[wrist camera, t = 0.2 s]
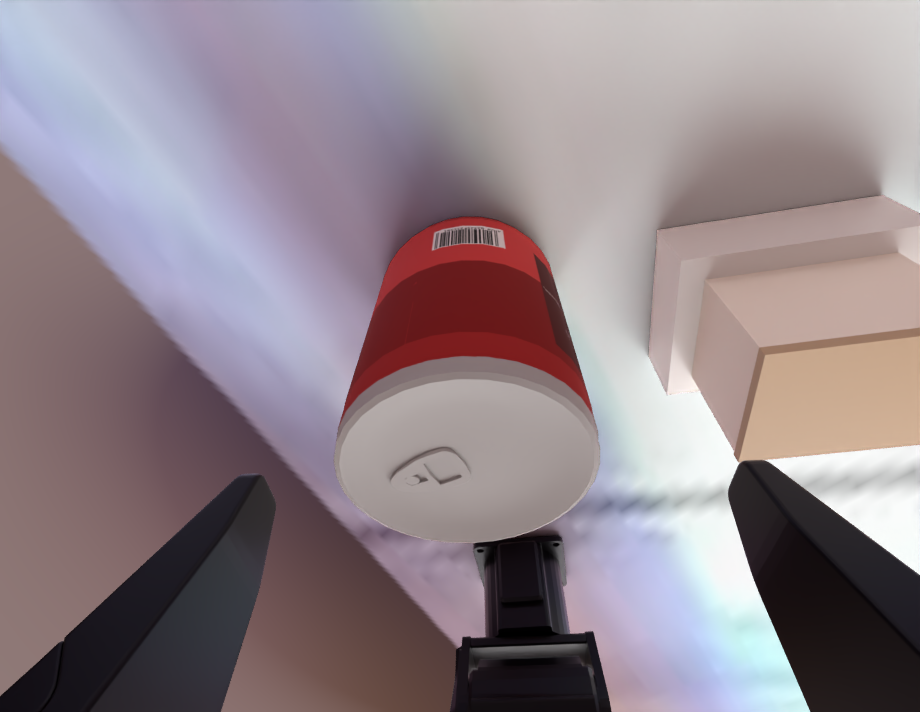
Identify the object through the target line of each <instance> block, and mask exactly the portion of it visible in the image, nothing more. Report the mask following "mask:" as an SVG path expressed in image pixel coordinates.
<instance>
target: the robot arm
mask: <svg viewBox="0 0 920 712" xmlns="http://www.w3.org/2000/svg"><path fill="white" fill-rule="evenodd" d="M728 497H729V502H730V505H731V509H732V512H733V515H734V518H735V522H736V525H737V528H738V531H739V534H740V538H741V541H742V544H743V547H744V551H745V554H746V557H747V560H748V564H749V567H750V570H751V573H752V576H753V579H754V581H755V584H756V586H757V589H758V591H759V594H760V596H761V598H762V601H763V603H764V605H765V608H766V610H767V612H768V615H769V617H770V619H771V622H772V624H773V626H774V628H775V631H776V633H777V635H778V638H779V640H780V642H781V645H782V647H783V649H784V652H785V654H786V656H787V659H788V661H789V663H790V666H791V668H792V670H793V672H794V675H795V677H796V679H797V682H798V684H799V686H800V689H801V691H802V693H803V696H804V698H805V700H806V703H807V705H808V707H809V710H810V712H920V575H919V574H918V573H916V572H915V571H914V570H912V569H911V568H910V567H908V566H907V565H906V564H904V563H903V562H902V561H900V560H899V559H898V558H896V557H895V556H894V555H892V554H891V553H890V552H888V551H887V550H886V549H884V548H883V547H882V546H880V545H879V544H878V543H876V542H875V541H874V540H872V539H871V538H870V537H868V536H867V535H866V534H864V533H863V532H862V531H860V530H859V529H858V528H856V527H855V526H854V525H852V524H851V523H850V522H848V521H847V520H846V519H844V518H843V517H842V516H840V515H839V514H838V513H836V512H835V511H833V510H832V509H831V508H829V507H828V506H827V505H825V504H824V503H823V502H821V501H820V500H819V499H817V498H816V497H815V496H813V495H812V494H811V493H809V492H808V491H807V490H805V489H804V488H803V487H801V486H800V485H799V484H797V483H796V482H795V481H793V480H792V479H791V478H789V477H788V476H787V475H785V474H784V473H783V472H781V471H780V470H779V469H777V468H776V467H775V466H773V465H772V464H771V463H769V462H767V461H764V460H745V461H742V462H741V463H739V465H738V467H737V470H736V472H735V474H734V477H733V479H732V481H731V484H730V486H729V490H728ZM275 510H276V503H275V499H274V497H273V494H272V492H271V490H270V488H269V486H268V484H267V482H266V479H265V477H264V476H262V475H261V474H243V475H240V476H238V477H237V478H236V479H234V480H233V481H232V482H231V483H230V484H229V485H228V486H227V487H226V488H225V489H224V490H223V491H222V492H220V494H218V495H217V496H216V497H215V498H214V499H213V500H212V501H211V502H210V503H209V504H208V505H207V506H205V507H204V509H202V510H201V511H200V512H199V513H198V514H197V515H196V516H195V517H194V518H193V519H192V520H190V521H189V522H188V523H187V524H186V525H185V526H184V527H183V528H182V529H181V530H180V531H179V532H177V533H176V534H175V535H174V536H173V537H172V538H171V539H170V540H169V541H168V542H167V543H166V544H165V545H163V547H161V548H160V549H159V550H158V551H157V552H156V553H155V554H154V555H153V556H152V557H151V558H149V560H147V561H146V562H145V563H144V564H143V565H142V566H141V567H140V568H139V569H138V570H137V571H136V572H134V573H133V574H132V575H131V576H130V577H129V578H128V579H127V580H126V581H125V582H124V583H123V584H122V585H120V586H119V587H118V588H117V589H116V590H115V591H114V592H113V593H112V594H111V595H110V596H109V597H108V598H107V599H105V600H104V601H103V602H102V603H101V604H100V605H99V606H98V607H97V608H96V609H95V610H94V611H93V612H92V613H91V614H89V615H88V616H87V617H86V618H85V619H84V620H83V621H82V622H81V623H80V624H79V625H77V627H75V628H74V629H73V630H72V631H71V632H70V633H69V634H68V635H67V636H66V637H65V638H64V641H61V642H59V643H58V644H57V645H56V646H55V647H54V648H53V649H51V650H50V651H49V652H48V653H47V654H46V655H45V656H44V657H43V658H42V659H41V660H40V661H39V662H38V663H36V664H35V665H34V666H33V667H32V668H31V669H30V670H29V671H28V672H26V674H24V675H23V676H22V677H21V678H20V679H19V680H18V681H16V682H15V683H14V684H13V685H12V686H11V687H10V688H9V689H8V690H7V691H5V692H4V693H3V694H2V695H1V696H0V712H221V709H222V706H223V703H224V700H225V696H226V693H227V690H228V687H229V684H230V681H231V678H232V674H233V671H234V668H235V665H236V662H237V659H238V655H239V652H240V649H241V646H242V643H243V639H244V636H245V633H246V630H247V627H248V624H249V620H250V618H251V614H252V611H253V608H254V605H255V602H256V598H257V595H258V591H259V588H260V584H261V579H262V575H263V570H264V565H265V560H266V555H267V550H268V545H269V540H270V535H271V530H272V525H273V521H274V516H275ZM473 552H474V555H475V559H476V562H477V565H478V569H479V572H480V576H481V579H482V583H483V586H484V591H485V635H486V637H483V638H471V637H463V638H462V646H461V647H460V648H458V649H456V672H455V682H454V689H453V695H452V701H451V708H450V712H611V706H610V701H609V696H608V692H607V687H606V683H605V679H604V675H603V671H602V666H601V662H600V658H599V654H598V650H597V645H596V641H595V637H594V633H593V631H590V632H585V633H579V634H570V629H569V623H568V616H567V610H566V603H565V597H564V590H563V586H565V585H566V584H567V582H566V570H565V559H564V548H563V540H562V538H561V537H560V536H546V537H534V538H523V539H511V540H499V541H488V542H477V543H475V544H474V546H473Z"/></svg>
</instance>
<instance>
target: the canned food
mask: <svg viewBox="0 0 920 712" xmlns="http://www.w3.org/2000/svg"><path fill="white" fill-rule="evenodd" d="M334 465H335V471H336V476H337V479H338V481H339V483H340V485H341V487H342V489H343V491H344V493H345V494H346V495H347V496H348V498H349V499H350V500H351V501H352V502H353V504H354V505H355V506H356V507H357V508H359V509H360V510H361V511H362V512H364V513H365V514H366V515H367V516H369V517H370V518H372V519H373V520H375V521H377V522H379V523H381V524H382V525H384V526H386V527H388V528H390V529H393V530H396V531H398V532H401V533H403V534H406V535H410V536H414V537H418V538H422V539H426V540H432V541H440V542H448V543H477V542H488V541H496V540H501V539H506V538H511V537H516V536H519V535H522V534H525V533H528V532H531V531H534V530H536V529H538V528H541V527H543V526H545V525H547V524H549V523H551V522H553V521H555V520H556V519H558V518H559V517H561V516H562V515H564V514H565V513H567V512H568V511H570V510H571V509H572V508H573V507H574V506H575V505H576V504H577V503H578V502H579V501H580V500H581V499H582V498H583V497H584V496H585V495H586V493H587V492H588V490H589V489H590V487H591V485H592V484H593V482H594V481H595V478H596V475H597V471H598V468H599V465H600V446H599V442H598V430H597V427H596V423H595V420H594V416H593V412H592V407H591V403H590V400H589V396H588V393H587V390H586V386H585V383H584V380H583V376H582V373H581V370H580V366H579V363H578V359H577V356H576V353H575V349H574V346H573V343H572V339H571V336H570V333H569V329H568V326H567V322H566V319H565V316H564V312H563V309H562V306H561V302H560V299H559V295H558V292H557V289H556V285H555V282H554V279H553V275H552V272H551V269H550V265H549V263H548V261H547V259H546V258H545V256H544V254H543V252H542V251H541V250H540V248H539V247H538V246H537V245H536V244H535V243H534V242H533V241H532V240H531V239H530V238H529V237H527V236H526V235H524V234H523V233H521V232H520V231H518V230H517V229H515V228H514V227H512V226H510V225H508V224H505V223H503V222H500V221H498V220H494V219H489V218H484V217H458V218H453V219H447V220H444V221H441V222H439V223H436V224H434V225H431V226H429V227H428V228H426V229H424V230H423V231H421V232H420V233H418V234H416V235H415V236H413V237H412V238H411V239H410V240H409V241H408V242H407V243H406V244H404V245H403V246H402V247H401V248H400V249H399V251H398V252H397V253H396V255H395V256H394V258H393V259H392V260H391V262H390V264H389V267H388V269H387V271H386V274H385V276H384V279H383V283H382V286H381V289H380V292H379V295H378V299H377V302H376V305H375V308H374V312H373V315H372V318H371V321H370V324H369V328H368V331H367V334H366V337H365V341H364V344H363V347H362V350H361V353H360V357H359V360H358V363H357V366H356V369H355V373H354V376H353V379H352V382H351V386H350V389H349V392H348V395H347V398H346V402H345V406H344V411H343V414H342V417H341V421H340V424H339V427H338V433H337V441H336V447H335V455H334Z"/></svg>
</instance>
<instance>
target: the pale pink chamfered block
mask: <svg viewBox="0 0 920 712" xmlns="http://www.w3.org/2000/svg"><path fill="white" fill-rule="evenodd" d="M897 252H899V253H901V254H902V255H904V256H905V257H907V258H909V259H910V260H912V261H914V262H915V263H917V264H918V265H920V213H918V212H916V211H914V210H912V209H910V208H908V207H906V206H904V205H902V204H900V203H898V202H896V201H894V200H892V199H890V198H888V197H886V196H884V195H879V196H873V197H866V198H860V199H853V200H847V201H840V202H834V203H828V204H821V205H815V206H808V207H802V208H795V209H789V210H783V211H776V212H770V213H763V214H757V215H750V216H744V217H737V218H731V219H725V220H718V221H712V222H705V223H699V224H692V225H686V226H679V227H673V228H667V229H660V230H657V241H656V255H655V270H654V284H653V298H652V313H651V327H650V341H649V356H648V357H649V359H650V361H651V363H652V365H653V367H654V369H655V371H656V373H657V375H658V377H659V379H660V381H661V384H662V386H663V388H664V390H665V392H666V394H667V395H672V394H681V393H689V392H698V391H700V390H699V389H698V387H697V385H696V383H695V382H694V380H693V378H692V369H693V362H694V355H695V348H696V340H697V333H698V326H699V319H700V312H701V305H702V298H703V291H704V284H705V280H707V279H714V278H721V277H728V276H735V275H742V274H749V273H756V272H763V271H770V270H777V269H785V268H792V267H799V266H806V265H813V264H820V263H827V262H834V261H841V260H848V259H855V258H862V257H869V256H876V255H883V254H890V253H897Z"/></svg>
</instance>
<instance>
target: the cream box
mask: <svg viewBox="0 0 920 712" xmlns="http://www.w3.org/2000/svg"><path fill="white" fill-rule="evenodd" d="M692 378H693V380H694V382H695V383H696V385H697V387H698V389H699V390H700V392H701V394H702V396H703V397H704V399H705V401H706V403H707V404H708V406H709V408H710V410H711V411H712V413H713V415H714V417H715V418H716V420H717V422H718V424H719V425H720V427H721V429H722V431H723V432H724V434H725V436H726V438H727V439H728V441H729V443H730V445H731V446H732V448H733V450H734V456H735V457H736V459H737V461H738V462H742V461H745V460H768V459H778V458H788V457H799V456H809V455H819V454H829V453H840V452H850V451H860V450H870V449H881V448H891V447H901V446H911V445H920V265H918V264H917V263H915V262H914V261H912V260H910V259H909V258H907V257H905V256H904V255H902V254H901V253H899V252H897V253H890V254H883V255H876V256H869V257H862V258H855V259H848V260H841V261H834V262H827V263H820V264H813V265H806V266H799V267H792V268H785V269H777V270H770V271H763V272H756V273H749V274H742V275H735V276H728V277H721V278H714V279H707V280H705V284H704V291H703V298H702V305H701V312H700V319H699V326H698V333H697V340H696V348H695V355H694V362H693V369H692Z"/></svg>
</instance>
